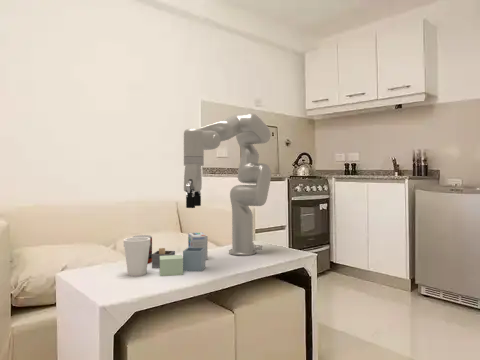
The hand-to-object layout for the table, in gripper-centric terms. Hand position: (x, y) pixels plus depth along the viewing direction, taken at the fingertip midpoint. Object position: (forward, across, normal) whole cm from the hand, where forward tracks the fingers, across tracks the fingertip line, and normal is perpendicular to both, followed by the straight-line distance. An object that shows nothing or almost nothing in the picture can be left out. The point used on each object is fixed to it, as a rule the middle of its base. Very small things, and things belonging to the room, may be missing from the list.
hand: (193, 206), depth 141 cm
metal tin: (+24, -3, -13) cm, 28 cm away
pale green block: (+24, +7, -7) cm, 26 cm away
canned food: (+24, -9, -24) cm, 35 cm away
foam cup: (+24, +9, -19) cm, 32 cm away
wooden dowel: (+24, -3, -13) cm, 27 cm away
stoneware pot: (+24, 0, 0) cm, 24 cm away
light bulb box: (+24, -19, -3) cm, 31 cm away
